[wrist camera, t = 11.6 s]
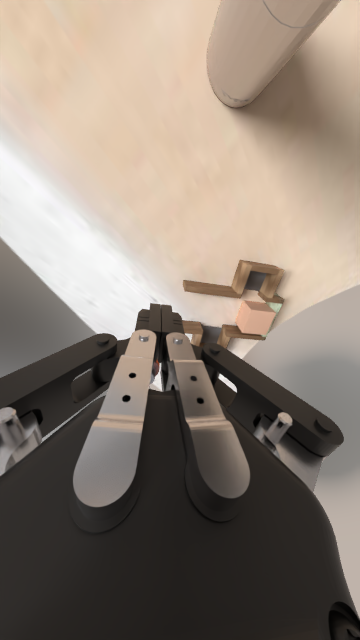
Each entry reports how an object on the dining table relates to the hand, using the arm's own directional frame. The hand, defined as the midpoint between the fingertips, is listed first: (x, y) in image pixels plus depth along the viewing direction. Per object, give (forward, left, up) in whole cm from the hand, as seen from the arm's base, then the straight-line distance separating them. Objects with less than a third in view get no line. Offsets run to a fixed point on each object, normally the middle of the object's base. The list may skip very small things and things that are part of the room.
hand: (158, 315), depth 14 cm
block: (+11, +24, -27) cm, 38 cm away
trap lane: (+11, +17, -27) cm, 34 cm away
